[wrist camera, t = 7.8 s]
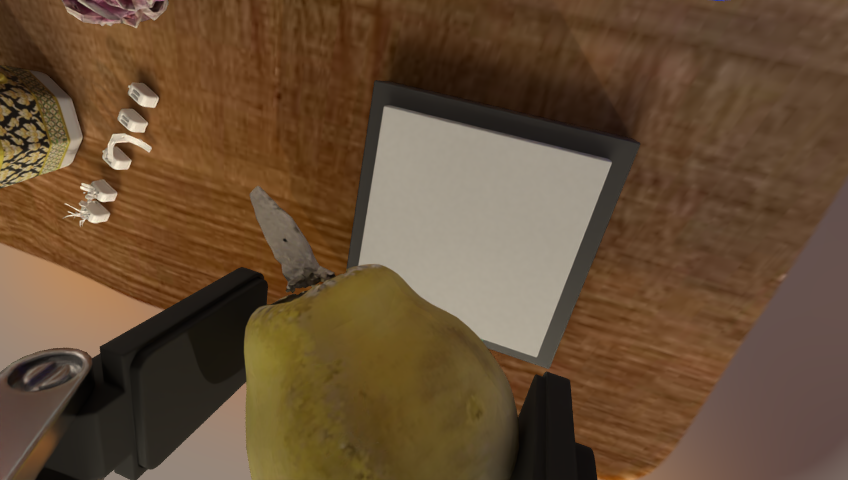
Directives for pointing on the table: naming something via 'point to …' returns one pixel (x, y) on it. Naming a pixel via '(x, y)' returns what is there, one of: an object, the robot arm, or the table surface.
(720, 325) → the table surface
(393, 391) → the fruit
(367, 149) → the scale
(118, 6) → the decorative flower
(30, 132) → the ceramic cup
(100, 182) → the figurines set
